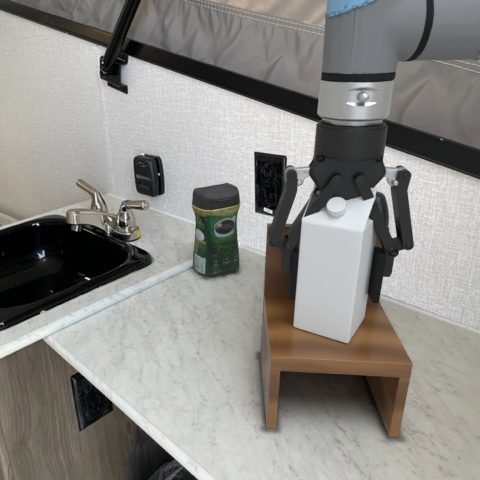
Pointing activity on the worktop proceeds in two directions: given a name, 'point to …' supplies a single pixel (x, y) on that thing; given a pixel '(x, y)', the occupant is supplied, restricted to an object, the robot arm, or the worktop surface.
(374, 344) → the wooden toy chair
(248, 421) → the worktop surface
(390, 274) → the robot arm
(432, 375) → the worktop surface
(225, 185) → the coffee jar
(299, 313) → the milk carton
